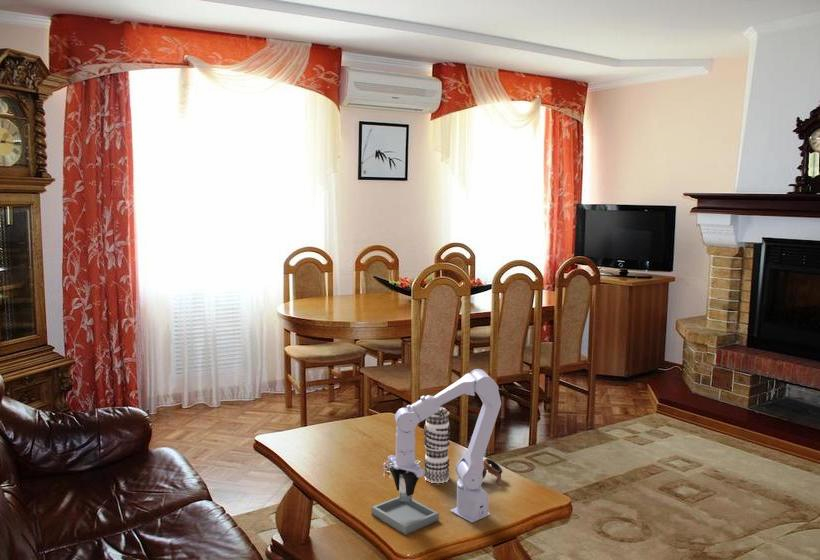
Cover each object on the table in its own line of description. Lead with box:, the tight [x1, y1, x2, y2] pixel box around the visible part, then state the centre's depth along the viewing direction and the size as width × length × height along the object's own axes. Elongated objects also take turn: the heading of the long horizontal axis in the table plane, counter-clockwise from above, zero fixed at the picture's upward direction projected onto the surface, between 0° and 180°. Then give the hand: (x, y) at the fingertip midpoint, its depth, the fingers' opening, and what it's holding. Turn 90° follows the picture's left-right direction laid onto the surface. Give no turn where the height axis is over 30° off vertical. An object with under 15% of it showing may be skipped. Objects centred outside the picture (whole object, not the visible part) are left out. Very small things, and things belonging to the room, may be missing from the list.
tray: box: [371, 496, 440, 536], centre depth 203 cm, size 16×13×2 cm
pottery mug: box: [482, 458, 503, 485], centre depth 228 cm, size 12×10×8 cm
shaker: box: [398, 471, 413, 502], centre depth 202 cm, size 4×4×8 cm
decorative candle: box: [423, 405, 452, 484], centre depth 229 cm, size 9×9×25 cm
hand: (405, 492), depth 202 cm, fingers closed on shaker, 4 cm apart
